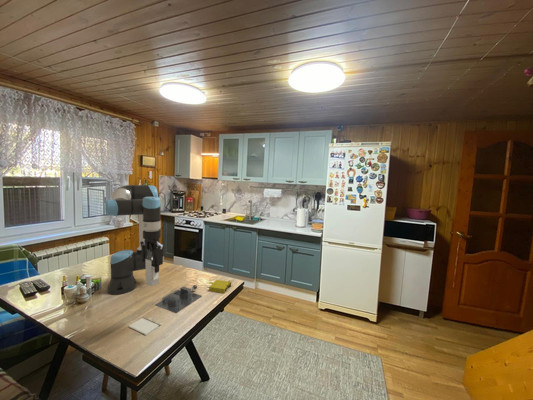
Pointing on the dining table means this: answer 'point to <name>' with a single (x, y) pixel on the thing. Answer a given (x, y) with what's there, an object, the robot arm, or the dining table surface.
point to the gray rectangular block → (150, 272)
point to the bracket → (219, 286)
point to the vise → (179, 299)
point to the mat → (144, 326)
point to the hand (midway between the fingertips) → (152, 277)
